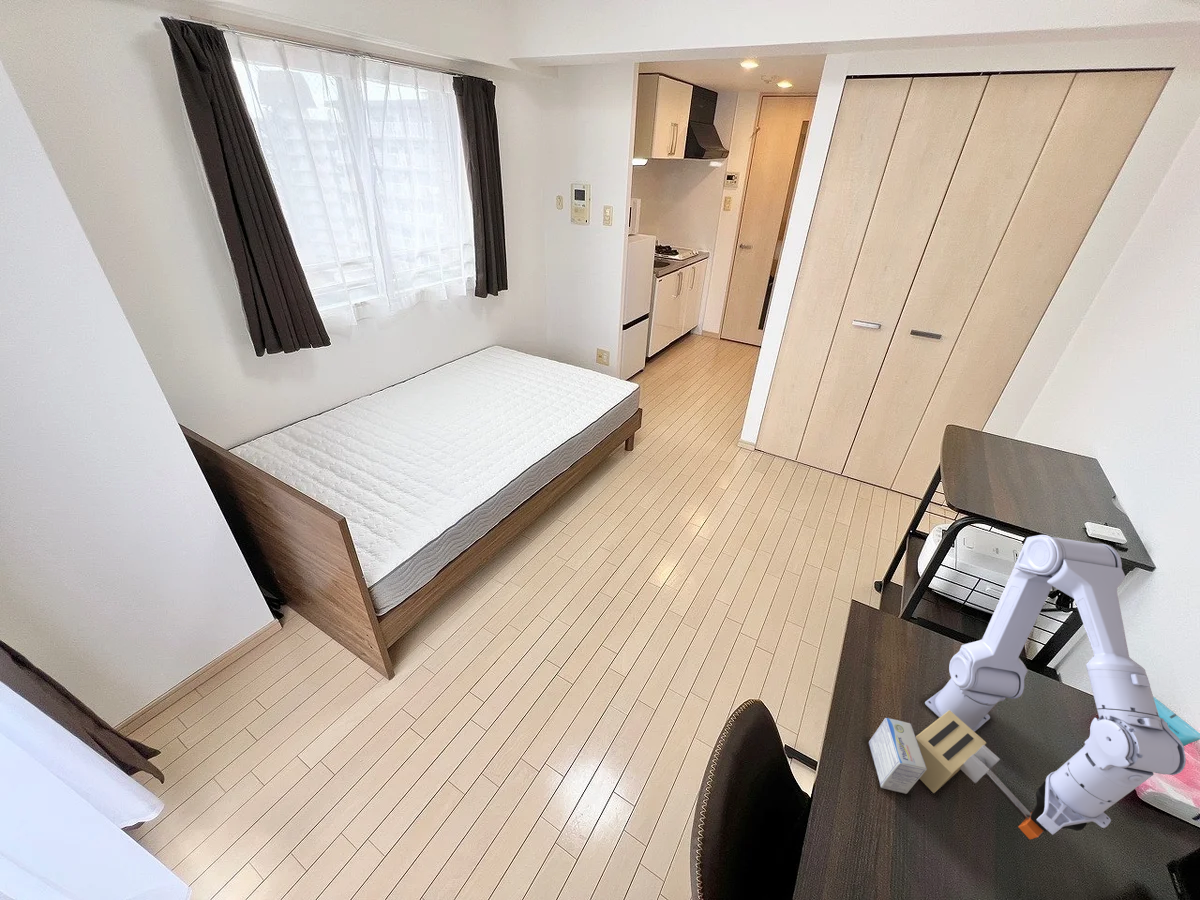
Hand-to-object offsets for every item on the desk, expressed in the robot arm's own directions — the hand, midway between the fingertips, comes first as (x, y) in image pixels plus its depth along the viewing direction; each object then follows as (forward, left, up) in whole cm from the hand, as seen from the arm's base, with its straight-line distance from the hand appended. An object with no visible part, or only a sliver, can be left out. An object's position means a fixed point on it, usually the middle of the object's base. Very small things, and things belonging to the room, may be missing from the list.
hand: (1039, 822), depth 74 cm
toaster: (0, -12, -7) cm, 14 cm away
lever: (0, -5, -1) cm, 5 cm away
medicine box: (+9, -17, -7) cm, 21 cm away
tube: (-27, +2, -7) cm, 28 cm away
